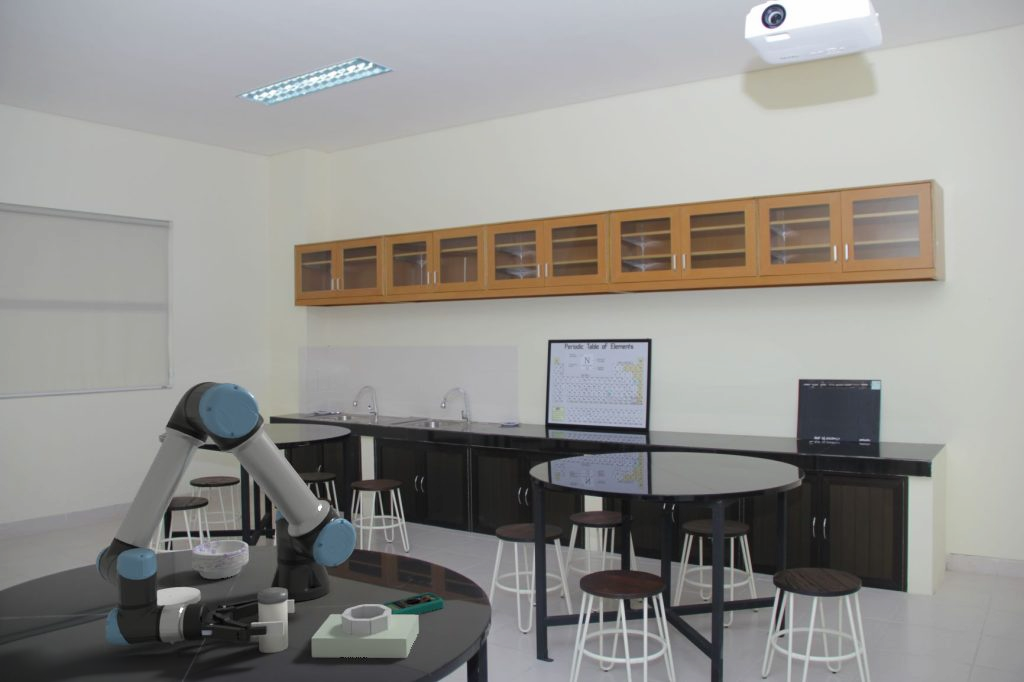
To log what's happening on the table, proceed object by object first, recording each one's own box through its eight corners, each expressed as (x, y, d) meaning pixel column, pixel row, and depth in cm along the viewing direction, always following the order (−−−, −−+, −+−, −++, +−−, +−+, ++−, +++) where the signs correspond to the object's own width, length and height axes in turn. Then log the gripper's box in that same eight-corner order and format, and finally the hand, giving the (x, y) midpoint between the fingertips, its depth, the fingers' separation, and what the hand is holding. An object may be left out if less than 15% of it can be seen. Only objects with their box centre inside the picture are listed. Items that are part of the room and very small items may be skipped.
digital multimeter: (446, 609, 197) (445, 597, 197) (392, 623, 188) (391, 611, 188) (430, 601, 202) (430, 590, 202) (377, 615, 193) (377, 603, 193)
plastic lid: (177, 593, 212) (177, 583, 212) (212, 602, 205) (212, 592, 205) (128, 610, 200) (127, 599, 200) (163, 619, 193) (163, 609, 193)
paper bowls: (238, 582, 219) (237, 553, 219) (182, 583, 219) (181, 554, 219) (256, 566, 234) (255, 538, 234) (204, 566, 235) (203, 539, 235)
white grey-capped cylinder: (264, 641, 177) (263, 587, 177) (292, 641, 177) (291, 587, 176) (254, 653, 171) (253, 596, 171) (282, 653, 171) (282, 597, 170)
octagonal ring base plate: (331, 631, 182) (330, 601, 182) (418, 632, 181) (418, 601, 181) (311, 657, 168) (311, 623, 168) (406, 658, 167) (405, 624, 167)
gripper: (202, 619, 184) (298, 613, 186) (168, 663, 160) (279, 657, 162) (201, 586, 184) (297, 581, 186) (167, 626, 159) (278, 619, 162)
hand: (289, 616), depth 174 cm, fingers open, 12 cm apart
